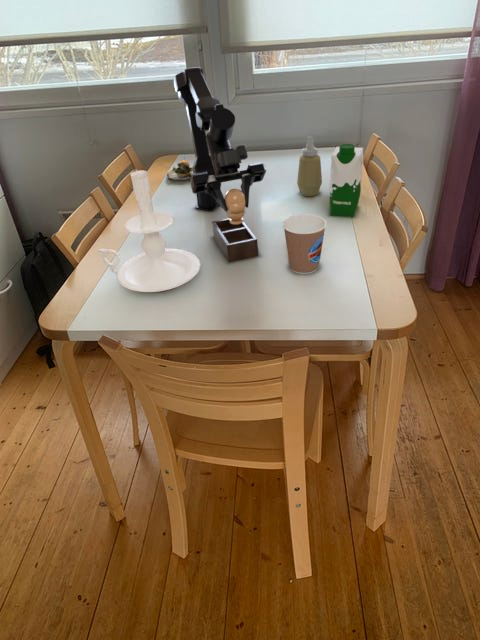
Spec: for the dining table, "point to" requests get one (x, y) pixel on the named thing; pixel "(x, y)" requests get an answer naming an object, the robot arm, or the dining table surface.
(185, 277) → the candlestick
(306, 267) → the coffee cup
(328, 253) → the dining table surface
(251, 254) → the dark brown wooden tray
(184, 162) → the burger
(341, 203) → the milk carton
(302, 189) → the squeeze bottle
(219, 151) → the robot arm
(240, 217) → the egg
